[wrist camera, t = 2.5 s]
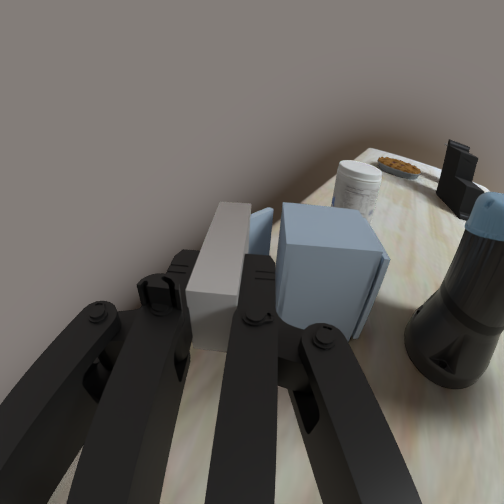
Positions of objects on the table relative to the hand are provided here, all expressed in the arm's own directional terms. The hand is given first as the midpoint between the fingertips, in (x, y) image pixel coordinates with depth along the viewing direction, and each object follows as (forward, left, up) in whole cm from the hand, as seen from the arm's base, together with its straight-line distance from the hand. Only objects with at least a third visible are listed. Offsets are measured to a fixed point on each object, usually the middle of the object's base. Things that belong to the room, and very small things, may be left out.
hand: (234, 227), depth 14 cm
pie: (-63, -107, -21) cm, 126 cm away
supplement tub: (-21, -43, -21) cm, 52 cm away
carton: (-9, -16, -21) cm, 28 cm away
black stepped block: (-74, -71, -21) cm, 104 cm away
